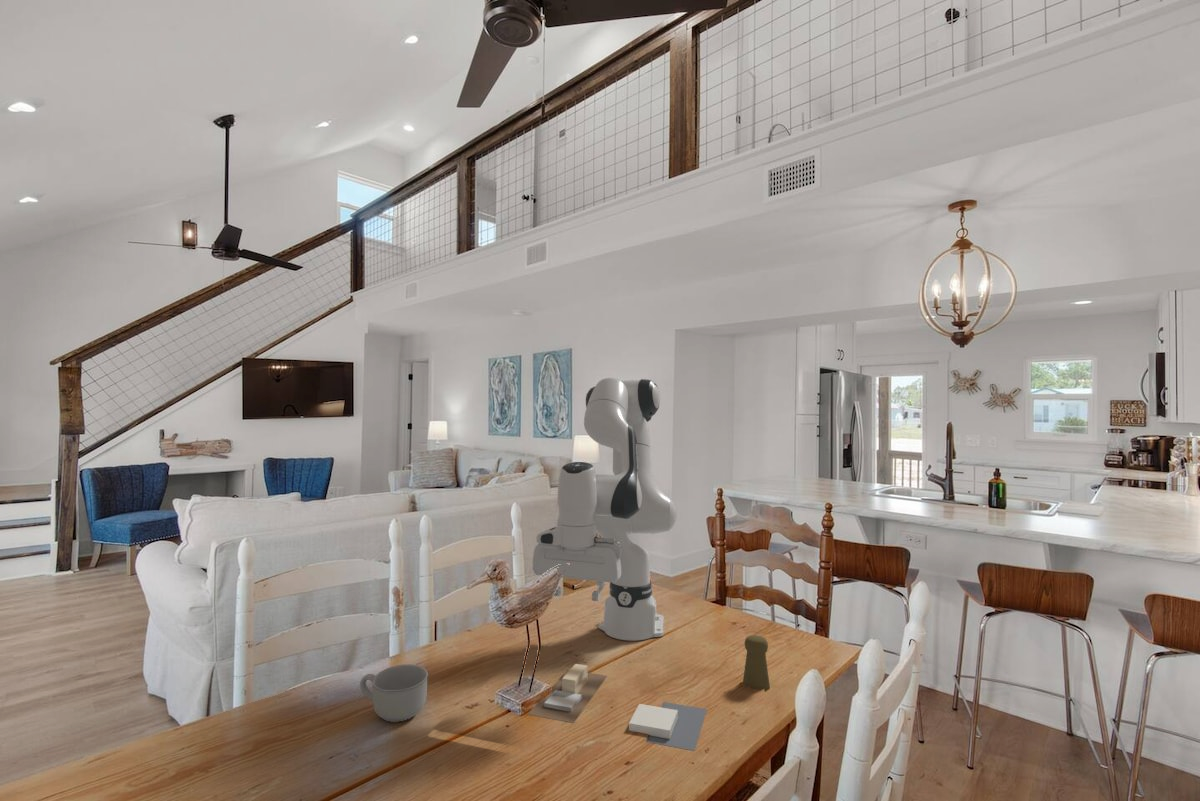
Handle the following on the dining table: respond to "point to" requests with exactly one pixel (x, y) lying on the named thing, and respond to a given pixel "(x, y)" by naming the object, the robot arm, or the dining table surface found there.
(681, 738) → the mat
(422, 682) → the teacup
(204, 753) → the dining table surface
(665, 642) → the dining table surface
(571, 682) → the beige upright plank
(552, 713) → the board
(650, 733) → the tile
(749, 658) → the olive green pawn
